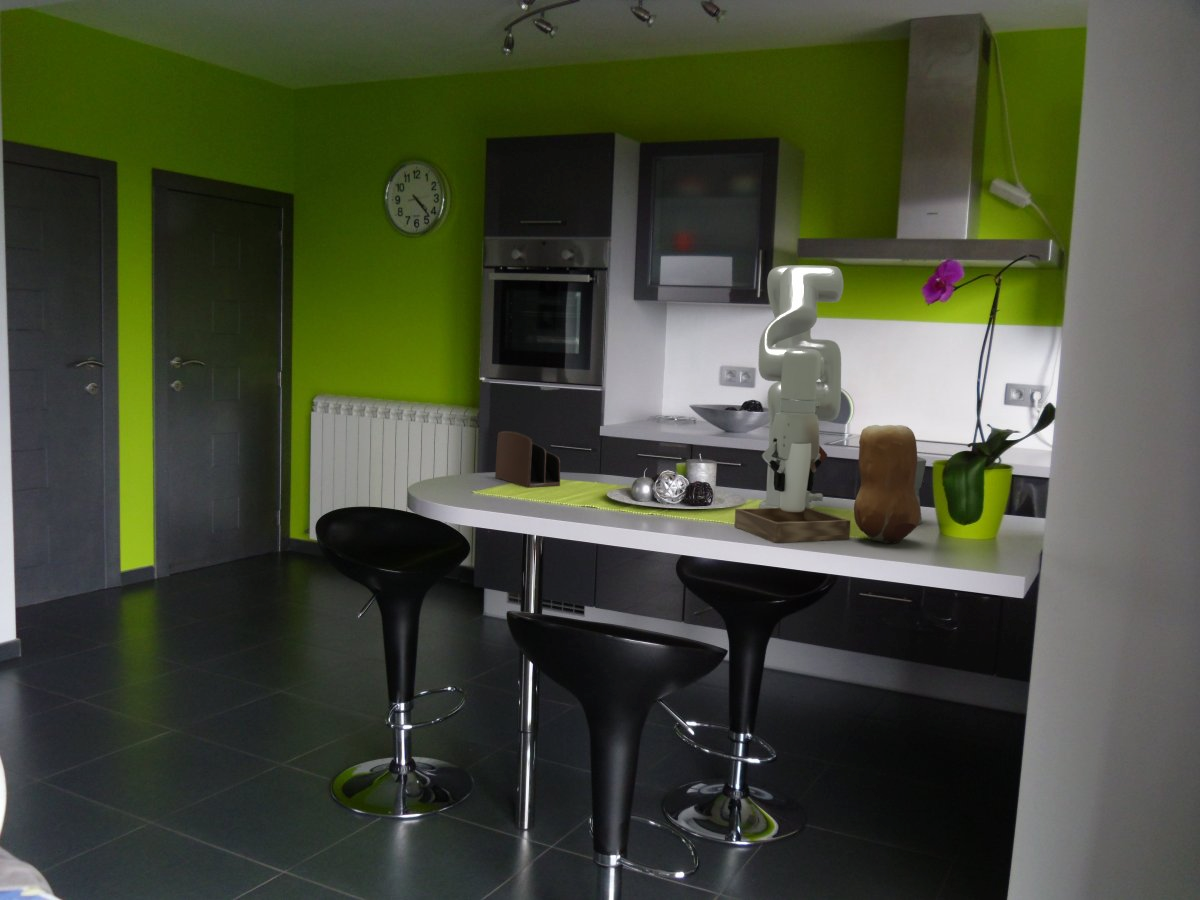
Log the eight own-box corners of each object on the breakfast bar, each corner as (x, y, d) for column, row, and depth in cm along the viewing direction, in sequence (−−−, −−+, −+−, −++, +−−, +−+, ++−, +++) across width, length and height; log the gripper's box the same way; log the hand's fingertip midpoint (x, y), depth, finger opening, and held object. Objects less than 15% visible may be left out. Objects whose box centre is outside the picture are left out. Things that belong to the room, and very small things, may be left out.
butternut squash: (872, 533, 239) (879, 420, 236) (929, 543, 230) (937, 425, 227) (839, 540, 229) (846, 422, 226) (896, 551, 220) (904, 428, 217)
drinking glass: (807, 514, 232) (811, 444, 230) (775, 512, 233) (779, 442, 231) (808, 509, 238) (812, 441, 237) (777, 507, 240) (780, 439, 238)
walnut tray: (804, 523, 248) (805, 506, 247) (849, 539, 231) (850, 520, 231) (734, 526, 241) (735, 509, 241) (775, 542, 225) (776, 523, 224)
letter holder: (528, 488, 288) (529, 435, 287) (494, 478, 305) (495, 428, 304) (560, 486, 294) (562, 434, 292) (526, 476, 310) (527, 427, 309)
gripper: (822, 406, 240) (818, 486, 242) (753, 406, 234) (749, 488, 236) (841, 409, 233) (836, 492, 235) (770, 408, 227) (766, 494, 229)
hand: (793, 489), depth 235 cm, fingers closed on drinking glass, 6 cm apart
